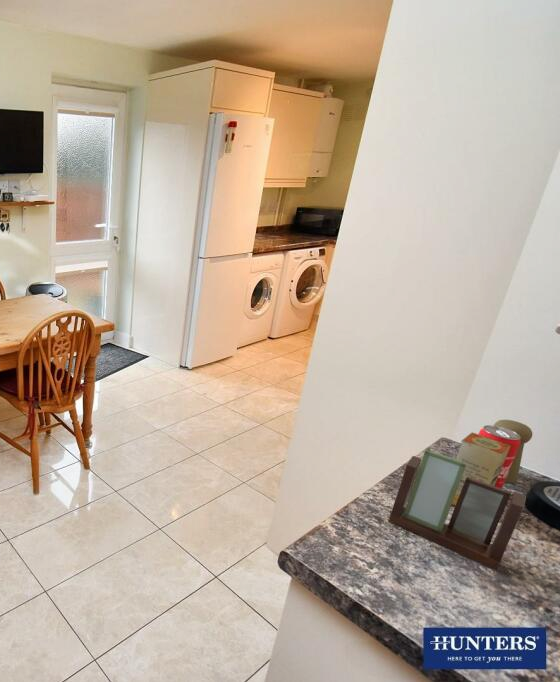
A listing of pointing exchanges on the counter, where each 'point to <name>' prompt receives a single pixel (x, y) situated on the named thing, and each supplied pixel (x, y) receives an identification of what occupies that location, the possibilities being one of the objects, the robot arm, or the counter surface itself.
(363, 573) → the counter surface
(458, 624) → the counter surface
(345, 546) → the counter surface
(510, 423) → the cork
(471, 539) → the window frame
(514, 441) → the beverage can
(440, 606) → the counter surface
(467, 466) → the shoe polish box
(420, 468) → the window pane
